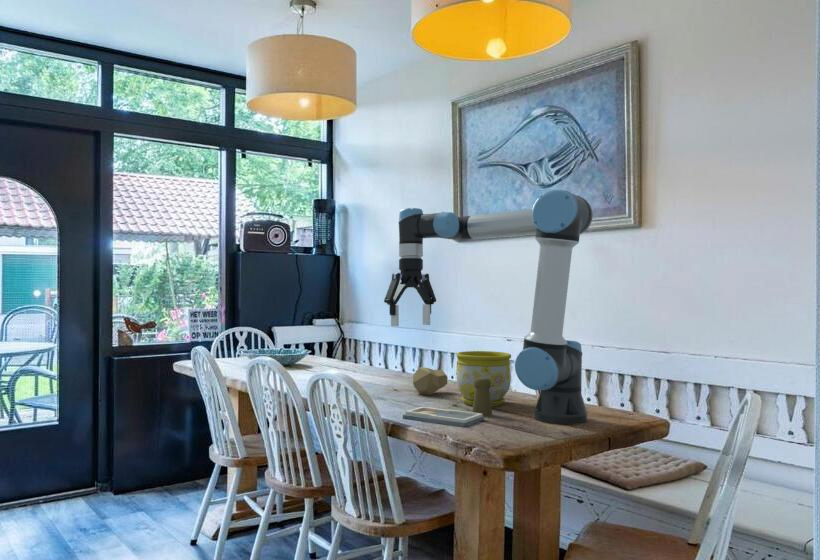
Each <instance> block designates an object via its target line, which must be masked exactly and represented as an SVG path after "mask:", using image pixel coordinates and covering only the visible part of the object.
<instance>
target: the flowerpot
mask: <svg viewBox="0 0 820 560" xmlns="http://www.w3.org/2000/svg"><path fill="white" fill-rule="evenodd" d="M456 357H457V368H456V385H457V387H458V388H457V389H458V390H459V392H460V394H461V395H462V397H461V400H462V401H463V402H464V404H466V405H468V406H472V407H473V402H474V395H475V387H474V380H475V379H476V378H480V377H484V378H488V379H490V381H491V386H490V388H489V394H490V402H491V407H498V406H501V405H503V403H504V402H505V401H506V399H505V398H504V397H505V396H506V395H507V393H508V391H510V390H509V389H510V386H511V380H512V379H511V378H512V376H511V368H510V364H511V362H510V359H511V358H512V354H511V353H509V352H504V351H503V352H502V351H493V350H492V351H489V350H487V351H486V350H471V351H470V350H469V351H468V350H467V351H458V352H457V353H456Z"/></svg>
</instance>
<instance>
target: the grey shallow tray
mask: <svg viewBox="0 0 820 560" xmlns="http://www.w3.org/2000/svg"><path fill="white" fill-rule="evenodd" d="M484 417H485V416H483V414H481V413H473V412H472V411H464V410H456V409H455V410H454V409H443V408H435V407H429V406H428V407H427V406H420V407H416V408H413V409H408V410H405V413H404V414H402V419H407V420H413V421H420V422H427V423H433V424H441V425H447V426H448V425H449V426H454V427H461V428H465V427H467V426H470V425H473V424H475V423H479V422H481V421H484Z"/></svg>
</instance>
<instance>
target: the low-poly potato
mask: <svg viewBox="0 0 820 560" xmlns="http://www.w3.org/2000/svg"><path fill="white" fill-rule="evenodd" d="M412 383H413V384H412V385H413V387H414V388H415V390H416V391H417V393H418V394H419V395H424V396H425V395H426V396H431V395H433V394H435V393H436V392H437V391H439V390H440V389H442V388H444V387H446V386H447V385H448V375H447V374H446V373H445V372H444V370H443V369H433V368H430V367H423V366H420V367H418V368H417V369H416V371H415V372H414V373H413V375H412Z"/></svg>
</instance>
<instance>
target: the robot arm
mask: <svg viewBox="0 0 820 560" xmlns="http://www.w3.org/2000/svg"><path fill="white" fill-rule="evenodd" d="M593 214H594V213H593V209H592V207H591V204H590V203H589V202H588V201H587V199H585V198H584V197H582V196H580V195H576V194H574V193H572V192H569V191H567V190H562V189H550V190H548V191H545V192H543V193H542V194H540V195H539V196H538V198H537V199H536V200H535V201H534V204H533V205H532V208H529V209H522V210H521V209H519V210H511V211H501V212H494V213H483V214H476V215H475V214H474V215H465V216H457V215H456V214H455V213H454V212H452V211H451V212H447V211H446V212H445V211H440V212H436V213H435V212H434V213H424V211H423V210H422V208H417V207H409V208H407V207H406V208H401V210H399V214H398V215H399V218H398V232H399V233H398V237H399V242H398V256H399V257H400V258H399V259H398V270H399V271H400V272H392V274H391V281H390V284H389V285H388V289H387V292H386V294H385V297H384V300H383V302H384V303H386V304H387V305H388V306H389V316H390V326H391V327H399V323H400V322H399V321H400V320H399V318H400V317H399V315H400V313H399V308H400V305H399V304H398V303H399V301H400V299H401V297H402V296H403V295H404V292H405V291H406V290H407V289H408V288H414V289H415V290H416V292H417V293H418V295H419V296H420V298H421V300H422V301H423V304H422V325H423V326H424V325H425V326H430V325H431V315H432V305H434V304H435V303H436V302H437V298H436V294H435V293H434V290H433V286H432V284H431V282H430V274H429V273H422V271H423V270H424V259H423V256H424V251H423V250H424V248H423V247H424V246H423V245H424V239H434V238H435V239H445V240H454V241H458V242H467V241H470V240H477V239H487V238H489V239H490V238H499V237H500V238H501V237H502V238H503V237H513V236H515V237H516V236H524V235H525V236H526V235H535V240H536V241H537V243H538V244H539V255H538V261H537V262H538V263H537V271H536V272H537V273H536V280H535V289H534V297H533V308H532V313H531V314H532V316H531V326H530V331H529V333H527V334H526V335H525V336H524V338H523V345H522V346H523V347H522V350H521V351H520V352H519V353H518V354H517V356H516V359H515V360H514V361H515V362H514V371H515V374H516V376H517V378H518V380H519V381H520V382H521V383H522V384H523V385H524V386H525V387H527V388H528V389H530V390H534V391H540V392H539V395H538V399H537V401H536V404H535V408H534V410H533V413H534V416H533V417H534V419H535V420H537V421H540V422H543V423H550V424H559V425H560V424H561V425H574V424H575V425H576V424H577V425H579V424H583V423H586V422H588V410H587V407H586V404H585V401H584V398H583V394H582V376H583V375H582V373H583V370H582V366H583V365H582V364H583V360H582V358H583V357H582V356H583V351H582V350H583V349H582V344H581V342H579V341H576V340H566V339H565V338H564V336H563V335H564V334H563V333H564V332H563V331H564V325H565V324H564V323H565V314H566V307H567V306H566V305H567V297H568V291H569V290H568V289H569V280H570V271H571V262H572V254H573V248H575V247H576V246H577V245H578V244H579V243H580V235H582V234H583V233H585V232H586V231H587V230H588V229H589V228H590V227H591V224H592V222H593V216H594V215H593Z"/></svg>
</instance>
